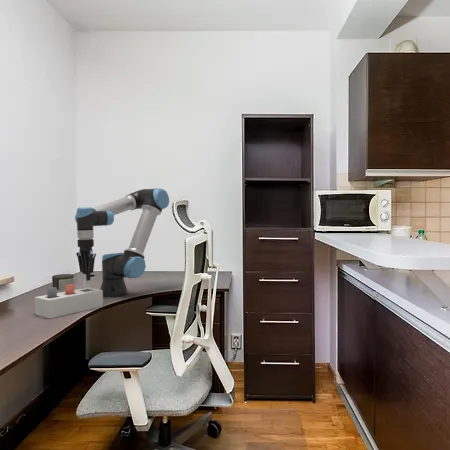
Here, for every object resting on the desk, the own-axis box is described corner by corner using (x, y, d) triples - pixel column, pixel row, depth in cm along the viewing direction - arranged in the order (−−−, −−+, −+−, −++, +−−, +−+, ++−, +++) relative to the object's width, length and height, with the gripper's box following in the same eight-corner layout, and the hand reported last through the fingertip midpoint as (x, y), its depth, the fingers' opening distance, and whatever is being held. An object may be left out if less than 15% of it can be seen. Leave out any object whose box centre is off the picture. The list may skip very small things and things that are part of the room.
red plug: (71, 298, 197) (71, 284, 197) (76, 299, 195) (76, 284, 195) (63, 300, 194) (63, 285, 194) (68, 301, 192) (68, 286, 191)
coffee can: (48, 305, 205) (48, 277, 205) (57, 300, 216) (57, 274, 215) (69, 305, 205) (68, 277, 205) (77, 300, 215) (76, 273, 215)
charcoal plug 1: (53, 302, 190) (53, 286, 190) (58, 303, 188) (58, 287, 187) (45, 303, 187) (45, 288, 187) (50, 304, 184) (50, 289, 184)
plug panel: (88, 303, 209) (87, 287, 209) (102, 306, 202) (102, 290, 202) (35, 314, 187) (34, 297, 187) (49, 318, 180) (48, 300, 180)
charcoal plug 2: (87, 302, 205) (87, 288, 204) (92, 303, 202) (92, 289, 202) (80, 304, 201) (80, 290, 201) (85, 305, 199) (85, 291, 199)
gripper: (70, 239, 202) (72, 286, 203) (86, 240, 194) (88, 289, 195) (84, 237, 208) (85, 284, 209) (100, 238, 200) (101, 287, 201)
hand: (87, 286), depth 202 cm, fingers closed
